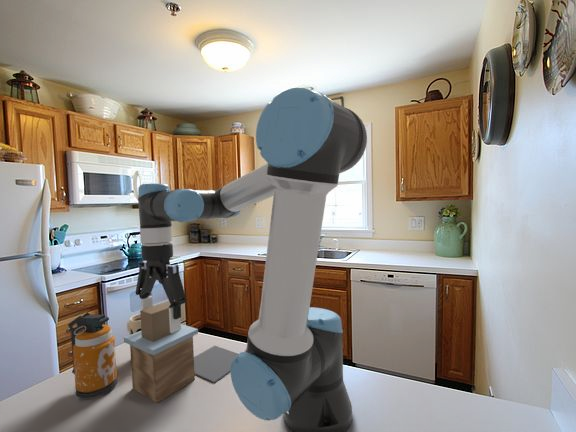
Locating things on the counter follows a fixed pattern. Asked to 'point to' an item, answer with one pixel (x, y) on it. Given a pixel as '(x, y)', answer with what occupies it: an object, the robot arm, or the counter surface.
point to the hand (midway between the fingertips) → (161, 325)
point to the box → (162, 370)
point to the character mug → (134, 324)
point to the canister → (93, 356)
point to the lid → (158, 330)
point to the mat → (214, 363)
